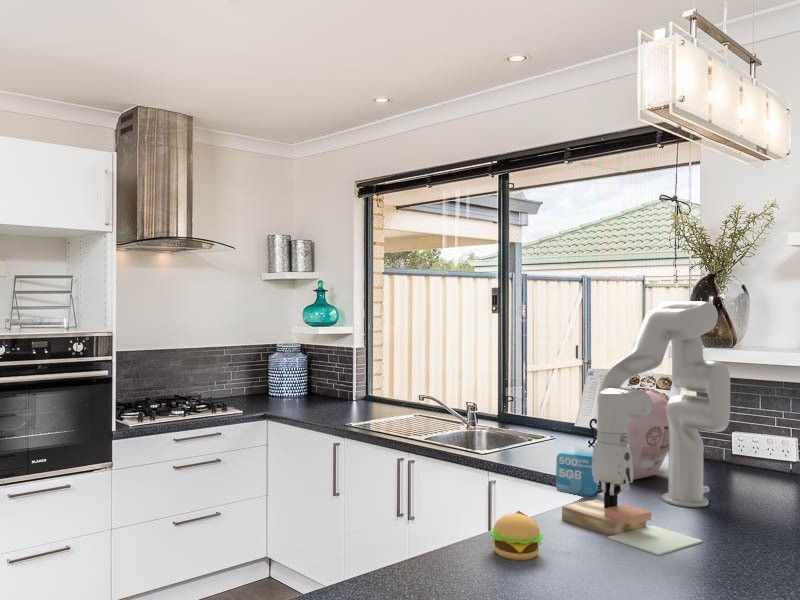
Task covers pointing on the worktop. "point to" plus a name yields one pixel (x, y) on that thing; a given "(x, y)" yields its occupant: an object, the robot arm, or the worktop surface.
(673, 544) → the sage mat
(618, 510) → the terracotta coaster
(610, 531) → the oak board
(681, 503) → the robot arm
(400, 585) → the worktop surface
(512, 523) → the hamburger
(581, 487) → the data package
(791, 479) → the worktop surface
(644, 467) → the pink rounded piece
